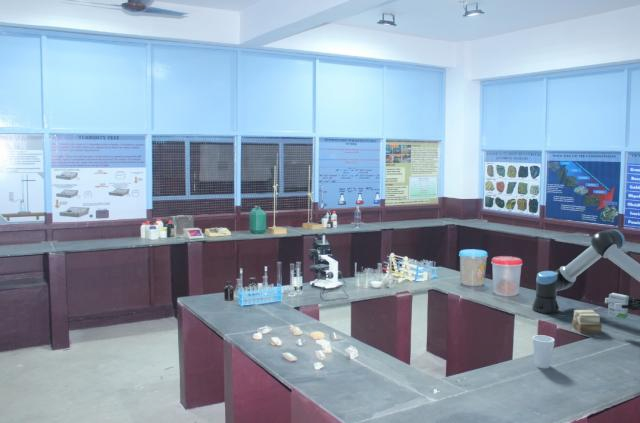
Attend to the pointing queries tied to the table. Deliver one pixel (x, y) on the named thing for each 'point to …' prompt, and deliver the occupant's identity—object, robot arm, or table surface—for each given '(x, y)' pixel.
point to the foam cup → (543, 350)
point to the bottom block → (586, 327)
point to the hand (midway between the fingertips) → (610, 303)
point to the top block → (586, 317)
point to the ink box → (617, 299)
